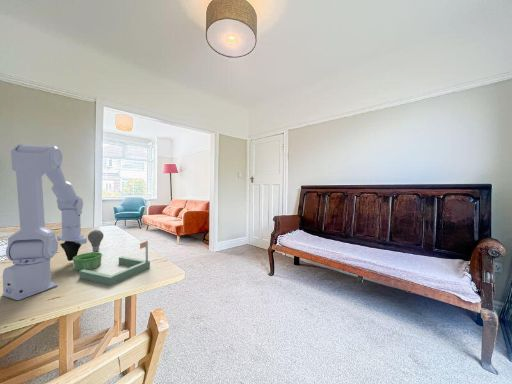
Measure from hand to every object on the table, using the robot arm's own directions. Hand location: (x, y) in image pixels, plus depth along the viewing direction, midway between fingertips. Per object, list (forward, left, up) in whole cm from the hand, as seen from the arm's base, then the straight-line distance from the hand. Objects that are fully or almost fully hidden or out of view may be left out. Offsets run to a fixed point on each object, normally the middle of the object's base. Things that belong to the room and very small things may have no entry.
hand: (71, 259), depth 87 cm
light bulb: (+14, +7, -2) cm, 16 cm away
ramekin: (0, -9, -2) cm, 9 cm away
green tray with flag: (0, -24, -1) cm, 24 cm away
